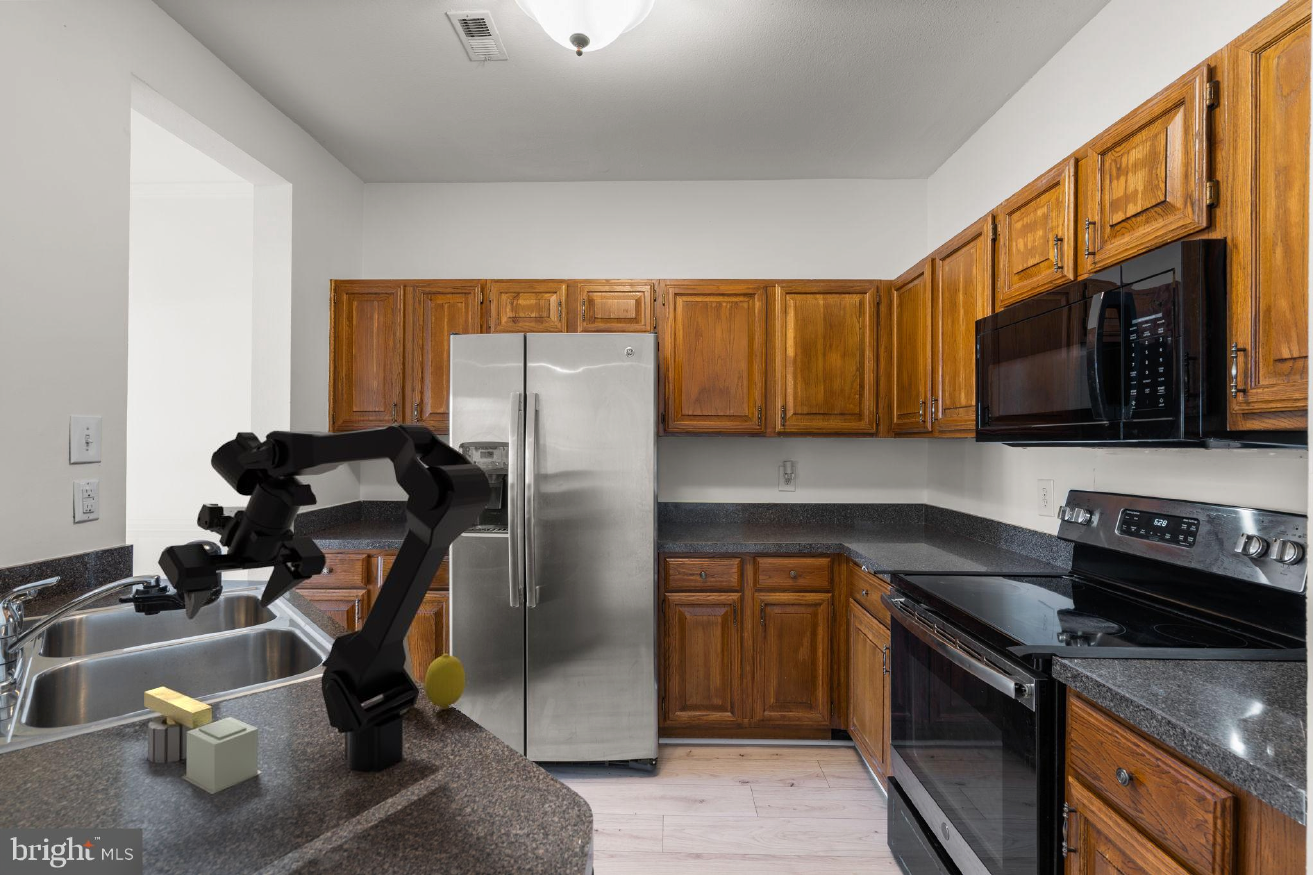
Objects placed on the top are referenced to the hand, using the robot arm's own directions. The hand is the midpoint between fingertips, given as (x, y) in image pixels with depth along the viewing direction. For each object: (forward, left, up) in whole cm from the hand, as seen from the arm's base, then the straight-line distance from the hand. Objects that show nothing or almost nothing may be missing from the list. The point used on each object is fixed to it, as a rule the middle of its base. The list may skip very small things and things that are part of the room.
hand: (227, 611), depth 87 cm
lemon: (-21, -19, -16) cm, 32 cm away
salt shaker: (-15, -15, -16) cm, 26 cm away
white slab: (-10, +8, -16) cm, 20 cm away
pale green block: (-15, +8, -14) cm, 22 cm away
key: (-5, +8, -15) cm, 17 cm away
